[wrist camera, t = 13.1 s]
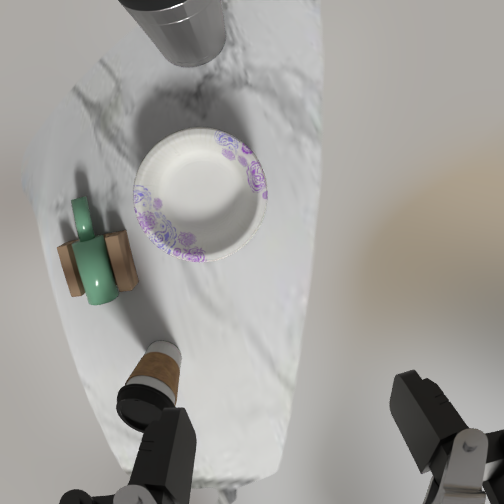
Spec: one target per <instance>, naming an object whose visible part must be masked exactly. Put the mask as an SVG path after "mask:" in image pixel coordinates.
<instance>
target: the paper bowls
mask: <svg viewBox="0 0 504 504" xmlns="http://www.w3.org/2000/svg"><path fill="white" fill-rule="evenodd" d="M267 200H268V199H267V182H266V178H265V174H264V172H263V169H262V166H261V164H260V162H259V160H258V159H257V157H256V156H255V154H254V153H253V152H252V151H251V149H250V148H249V147H248V146H247V145H246V144H244V143H243V142H242V141H241V140H239V139H238V138H236V137H235V136H233V135H231V134H229V133H227V132H224V131H221V130H218V129H214V128H205V127H195V128H188V129H184V130H180V131H178V132H175V133H173V134H171V135H168V136H167V137H165V138H164V139H162V140H161V141H159V142H158V143H157V144H156V145H155V146H154V147H153V148H152V149H151V150H150V151H149V152H148V153H147V155H146V156H145V158H144V159H143V161H142V163H141V165H140V167H139V169H138V171H137V174H136V178H135V182H134V190H133V201H134V208H135V213H136V216H137V219H138V222H139V224H140V226H141V228H142V229H143V231H144V232H145V234H146V235H147V237H148V238H149V239H150V240H151V241H152V242H153V243H154V244H155V245H156V246H157V247H158V248H160V249H161V250H162V251H164V252H166V253H167V254H169V255H171V256H173V257H176V258H179V259H182V260H185V261H192V262H210V261H215V260H219V259H223V258H225V257H227V256H229V255H231V254H233V253H235V252H237V251H238V250H240V249H241V248H242V247H243V246H245V245H246V244H247V243H248V242H249V241H250V239H251V238H252V237H253V236H254V234H255V233H256V231H257V230H258V228H259V227H260V225H261V223H262V220H263V218H264V215H265V211H266V207H267Z"/></svg>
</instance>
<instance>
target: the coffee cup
mask: <svg viewBox="0 0 504 504" xmlns="http://www.w3.org/2000/svg"><path fill="white" fill-rule="evenodd" d="M181 360H182V356H181V353H180V351H179V349H178V348H177V347H176V346H175V345H173V344H171V343H169V342H166V341H156V342H154V343H152V344H151V345H150V346H149V348H148V349H147V351H146V352H145V354H144V356H143V357H142V358H141V360H140V361H139V363H138V364H137V366H136V367H135V369H134V370H133V372H132V374H131V375H130V377H129V378H128V380H127V381H126V383H125V386H123V387H122V388H121V389H120V390H119V392H118V396H117V405H116V410H117V413H118V415H119V416H120V418H121V419H122V420H123V421H124V422H125V423H126V424H127V425H128V426H130V427H131V428H133V429H135V430H137V431H139V432H142V433H144V431H145V429H146V428H147V427H148V425H149V424H150V423H151V422H152V421H153V420H155V421H160V418H161V415H162V411H163V409H164V408H176V407H175V405H176V401H177V392H178V383H179V375H180V367H181Z"/></svg>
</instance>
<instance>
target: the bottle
mask: <svg viewBox="0 0 504 504" xmlns="http://www.w3.org/2000/svg"><path fill="white" fill-rule="evenodd" d="M71 203H72V208H73V213H74V218H75V223H76V228H77V232H78V236H79V240H78V241H75V242H74V243H72V248H73V252H74V256H75V259H76V263H77V266H78V270H79V273H80V277H81V280H82V283H83V287H84V290H85V293H86V296H87V299H88V302H89V304H91V305H101V304H105V303H108V302H110V301H112V300H114V299H115V298H117V297H118V295H119V292H118V289H117V286H116V282H115V279H114V275H113V271H112V268H111V264H110V260H109V256H108V252H107V248H106V244H105V240H104V235H94V230H93V226H92V221H91V216H90V211H89V206H88V201H87V196H85V197H81V198H77V199H74V200H71Z"/></svg>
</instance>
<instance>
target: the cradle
mask: <svg viewBox="0 0 504 504" xmlns="http://www.w3.org/2000/svg"><path fill="white" fill-rule="evenodd" d="M103 235H104V240H105V244H106V248H107V252H108V256H109V260H110V264H111V268H112V271H113V275H114V279H115V282H116V285H118V288H119V292H123V291H132V290H133V288H134V287H135V286H136V285H137V283H138V282H139V280H138V276H137V273H136V269H135V265H134V261H133V257H132V253H131V249H130V245H129V240H128V236H127V232H126V230H123V231H118V232H113V233H108V234H103ZM78 240H79V239H78ZM78 240H73V241H69V242H66V243H64V244H62V245H61V246H59V247H57V250H58V254H59V257H60V261H61V264H62V268H63V271H64V274H65V278H66V281H67V284H68V287H69V290H70V293H71V296H72V297H76V296H82V295H83V294H84V293H85V290H84V287H83V283H82V280H81V277H80V273H79V270H78V266H77V263H76V259H75V256H74V252H73V248H72V243H74V242H75V241H78Z"/></svg>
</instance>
